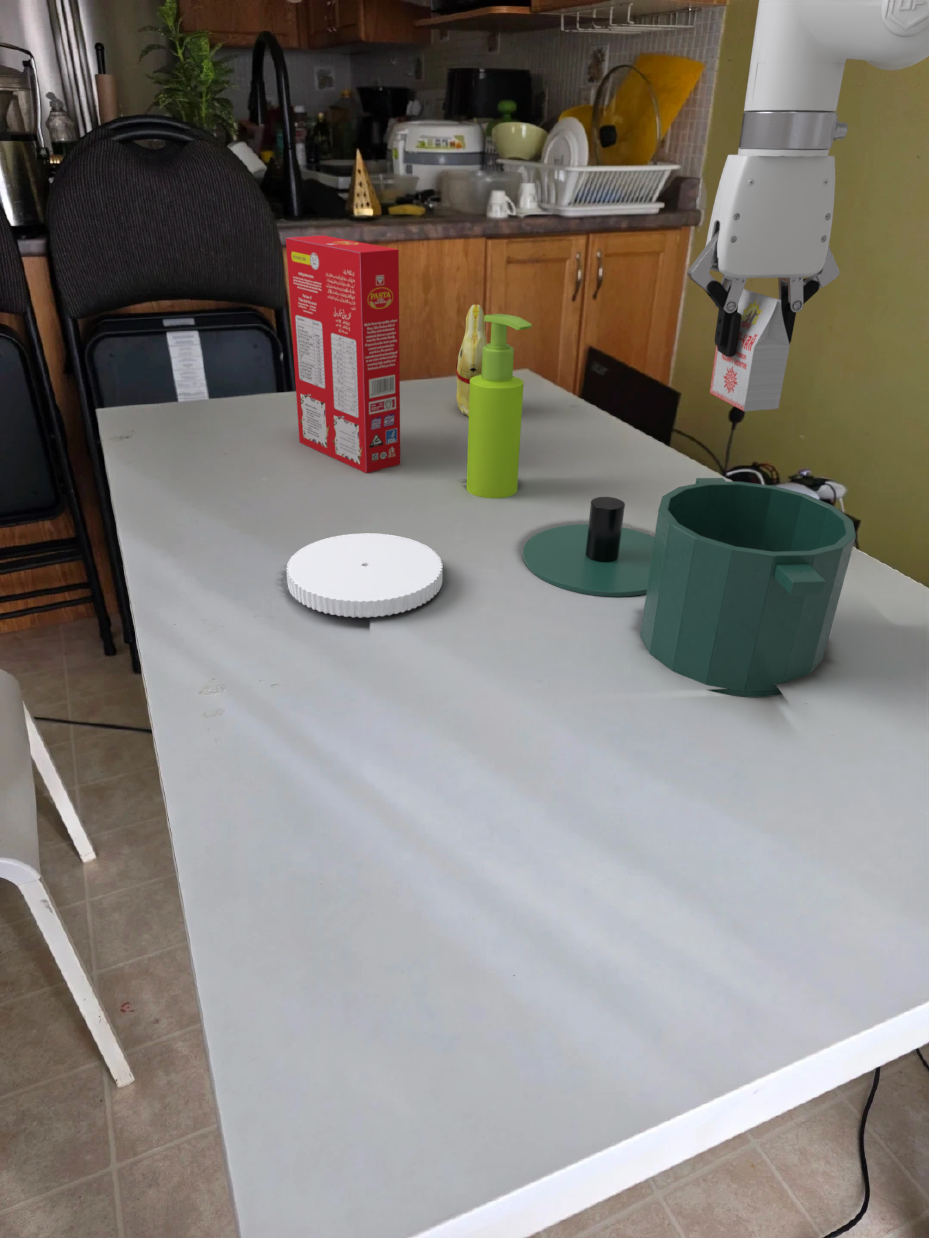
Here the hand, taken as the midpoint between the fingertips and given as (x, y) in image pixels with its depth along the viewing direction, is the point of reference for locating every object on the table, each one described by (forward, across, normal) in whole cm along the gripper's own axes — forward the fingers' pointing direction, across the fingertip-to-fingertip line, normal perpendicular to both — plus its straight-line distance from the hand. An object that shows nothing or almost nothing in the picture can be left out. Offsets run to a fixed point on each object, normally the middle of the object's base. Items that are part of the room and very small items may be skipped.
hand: (750, 351), depth 85 cm
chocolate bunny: (+18, +21, -46) cm, 54 cm away
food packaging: (+18, +40, -27) cm, 52 cm away
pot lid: (+18, +15, +7) cm, 25 cm away
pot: (+19, +8, +23) cm, 31 cm away
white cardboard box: (+5, 0, 0) cm, 5 cm away
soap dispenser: (+19, +23, -12) cm, 32 cm away
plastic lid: (+19, +38, +11) cm, 44 cm away
